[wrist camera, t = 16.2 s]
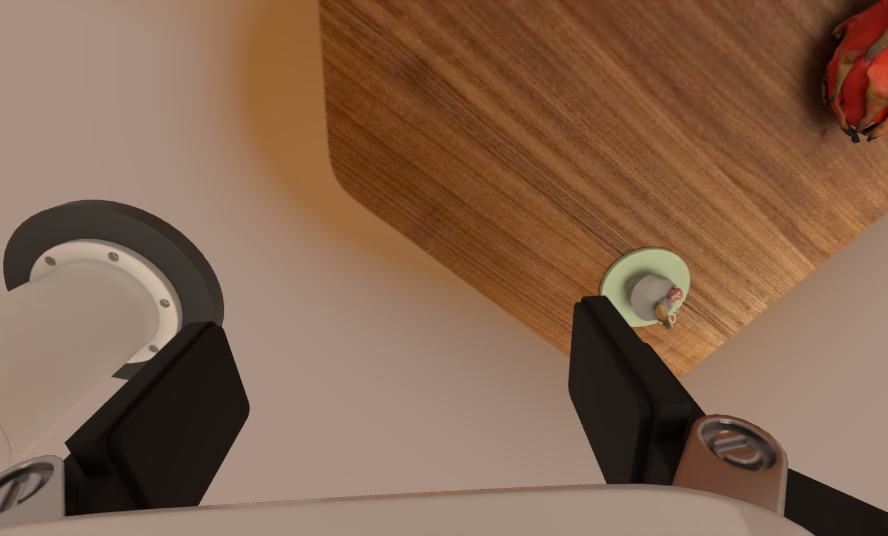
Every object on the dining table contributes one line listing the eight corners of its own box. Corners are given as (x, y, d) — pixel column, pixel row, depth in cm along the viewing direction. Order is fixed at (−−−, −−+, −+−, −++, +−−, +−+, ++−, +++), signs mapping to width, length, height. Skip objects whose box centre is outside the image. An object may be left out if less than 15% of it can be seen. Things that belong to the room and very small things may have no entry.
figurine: (614, 278, 39) (643, 310, 33) (660, 257, 38) (697, 286, 33) (632, 319, 41) (662, 356, 35) (675, 300, 40) (713, 335, 35)
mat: (595, 326, 42) (597, 329, 41) (603, 250, 38) (605, 252, 38) (678, 321, 42) (682, 324, 41) (694, 243, 38) (697, 246, 38)
